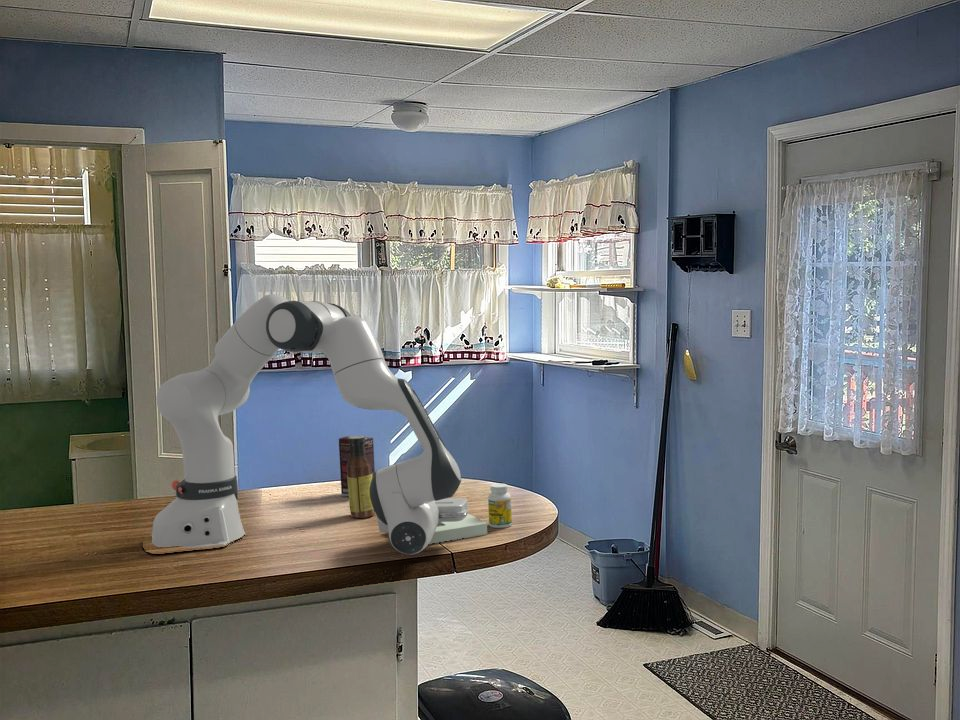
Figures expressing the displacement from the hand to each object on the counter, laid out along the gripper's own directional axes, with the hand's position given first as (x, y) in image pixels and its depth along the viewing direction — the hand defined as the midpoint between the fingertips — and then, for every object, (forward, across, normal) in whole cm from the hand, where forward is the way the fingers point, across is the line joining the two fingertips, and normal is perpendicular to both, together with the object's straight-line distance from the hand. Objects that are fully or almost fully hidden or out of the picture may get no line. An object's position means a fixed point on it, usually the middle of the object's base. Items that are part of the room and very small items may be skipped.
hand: (425, 500), depth 210 cm
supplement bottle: (+6, -17, +8) cm, 20 cm away
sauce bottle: (+16, +18, +8) cm, 26 cm away
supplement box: (+37, +23, +8) cm, 44 cm away
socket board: (+1, -3, +8) cm, 8 cm away
